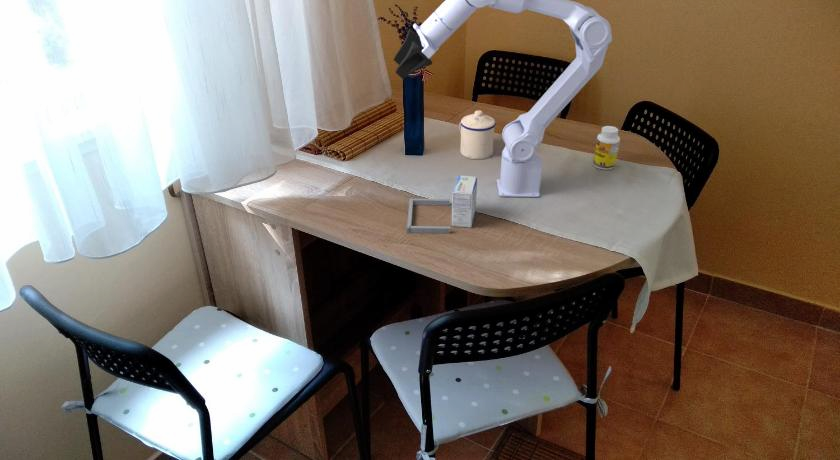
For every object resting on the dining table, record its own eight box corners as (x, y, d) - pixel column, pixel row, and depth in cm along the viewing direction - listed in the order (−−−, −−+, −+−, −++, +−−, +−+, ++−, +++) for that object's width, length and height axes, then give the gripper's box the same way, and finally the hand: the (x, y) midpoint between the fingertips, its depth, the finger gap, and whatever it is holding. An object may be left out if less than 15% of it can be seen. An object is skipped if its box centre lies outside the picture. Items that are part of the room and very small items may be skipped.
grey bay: (449, 203, 146) (449, 199, 145) (450, 233, 136) (450, 228, 135) (409, 202, 146) (409, 198, 146) (407, 232, 136) (407, 227, 135)
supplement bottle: (588, 163, 163) (594, 126, 158) (606, 159, 165) (612, 122, 160) (601, 172, 159) (607, 134, 154) (619, 168, 161) (626, 131, 155)
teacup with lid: (500, 154, 168) (503, 113, 161) (473, 163, 163) (475, 121, 157) (473, 138, 176) (475, 98, 170) (446, 146, 172) (447, 105, 166)
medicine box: (471, 228, 137) (473, 193, 132) (451, 226, 138) (452, 191, 133) (475, 210, 144) (477, 176, 139) (456, 208, 144) (457, 174, 140)
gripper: (427, -2, 134) (383, 44, 138) (434, 17, 122) (385, 67, 126) (450, 22, 137) (405, 66, 142) (459, 43, 125) (410, 91, 130)
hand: (397, 68), depth 134 cm, fingers open, 7 cm apart
